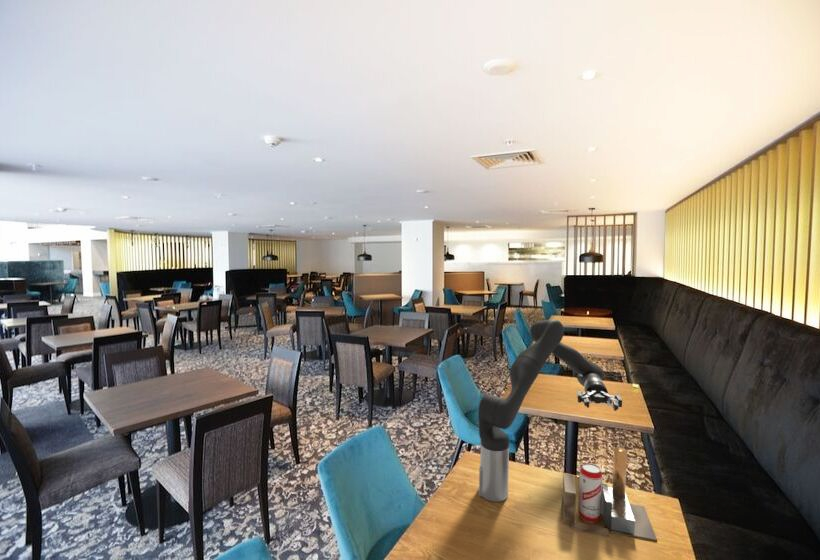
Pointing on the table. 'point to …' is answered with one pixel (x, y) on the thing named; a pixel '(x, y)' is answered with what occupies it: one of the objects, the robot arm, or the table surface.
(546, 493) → the table surface
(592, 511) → the beer can
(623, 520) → the cylinder
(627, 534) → the vise frame
